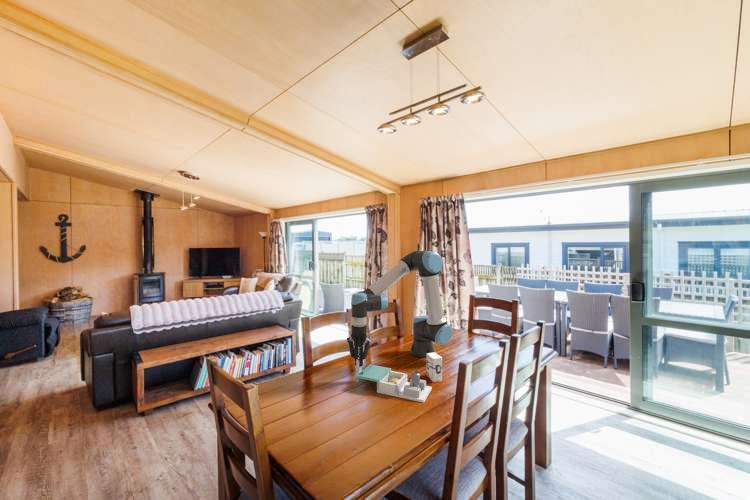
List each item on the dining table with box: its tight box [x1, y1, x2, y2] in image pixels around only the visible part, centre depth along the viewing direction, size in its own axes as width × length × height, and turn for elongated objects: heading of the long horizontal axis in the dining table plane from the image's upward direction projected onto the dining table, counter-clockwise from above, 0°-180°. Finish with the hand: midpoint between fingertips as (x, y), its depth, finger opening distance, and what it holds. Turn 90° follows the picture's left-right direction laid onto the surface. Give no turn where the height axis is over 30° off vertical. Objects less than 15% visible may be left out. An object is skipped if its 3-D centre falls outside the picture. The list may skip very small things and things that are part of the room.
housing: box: [376, 370, 433, 404], centre depth 145 cm, size 14×22×5 cm, turn 66°
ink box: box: [425, 351, 443, 383], centre depth 159 cm, size 8×5×12 cm, turn 17°
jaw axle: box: [410, 371, 421, 388], centre depth 143 cm, size 4×4×9 cm
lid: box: [355, 363, 392, 383], centre depth 152 cm, size 15×12×4 cm
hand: (358, 372), depth 155 cm, fingers closed
